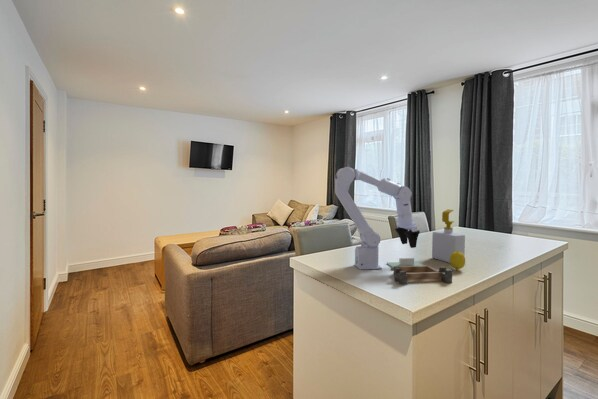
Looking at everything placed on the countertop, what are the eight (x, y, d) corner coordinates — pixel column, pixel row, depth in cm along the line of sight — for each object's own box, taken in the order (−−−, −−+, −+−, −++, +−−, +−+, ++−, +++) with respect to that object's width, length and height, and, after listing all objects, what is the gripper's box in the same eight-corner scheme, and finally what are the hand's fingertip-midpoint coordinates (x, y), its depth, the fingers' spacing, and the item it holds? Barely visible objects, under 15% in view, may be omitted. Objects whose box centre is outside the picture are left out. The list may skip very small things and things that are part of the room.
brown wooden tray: (400, 284, 98) (400, 272, 97) (387, 274, 109) (387, 263, 109) (451, 282, 99) (452, 270, 99) (433, 272, 111) (434, 261, 110)
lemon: (446, 268, 117) (447, 249, 116) (459, 267, 117) (459, 249, 117) (455, 272, 111) (455, 252, 111) (468, 272, 112) (468, 252, 111)
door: (392, 271, 114) (392, 261, 114) (383, 264, 123) (383, 255, 123) (432, 270, 115) (432, 260, 115) (420, 263, 125) (420, 254, 125)
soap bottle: (464, 263, 124) (466, 210, 123) (454, 264, 122) (455, 211, 120) (441, 256, 135) (442, 208, 134) (431, 258, 133) (432, 208, 132)
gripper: (422, 214, 111) (427, 247, 112) (405, 211, 126) (409, 240, 127) (405, 217, 111) (410, 250, 112) (390, 213, 125) (394, 243, 126)
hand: (408, 245), depth 119 cm, fingers open, 7 cm apart
